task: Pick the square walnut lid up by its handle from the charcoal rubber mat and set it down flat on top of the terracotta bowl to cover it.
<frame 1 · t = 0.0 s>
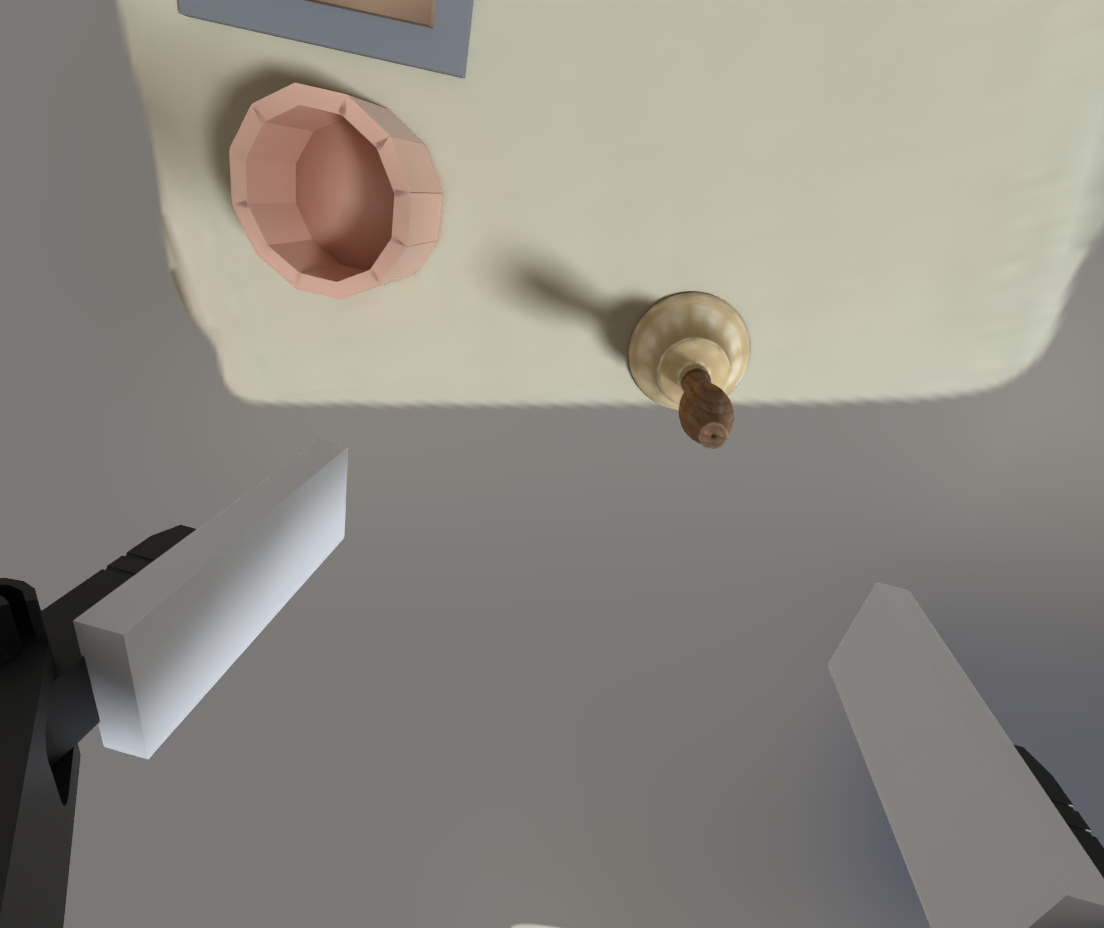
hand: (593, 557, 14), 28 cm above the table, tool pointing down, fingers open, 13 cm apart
terracotta bowl: (365, 198, 38), on the table
hand bell: (687, 352, 39), on the table
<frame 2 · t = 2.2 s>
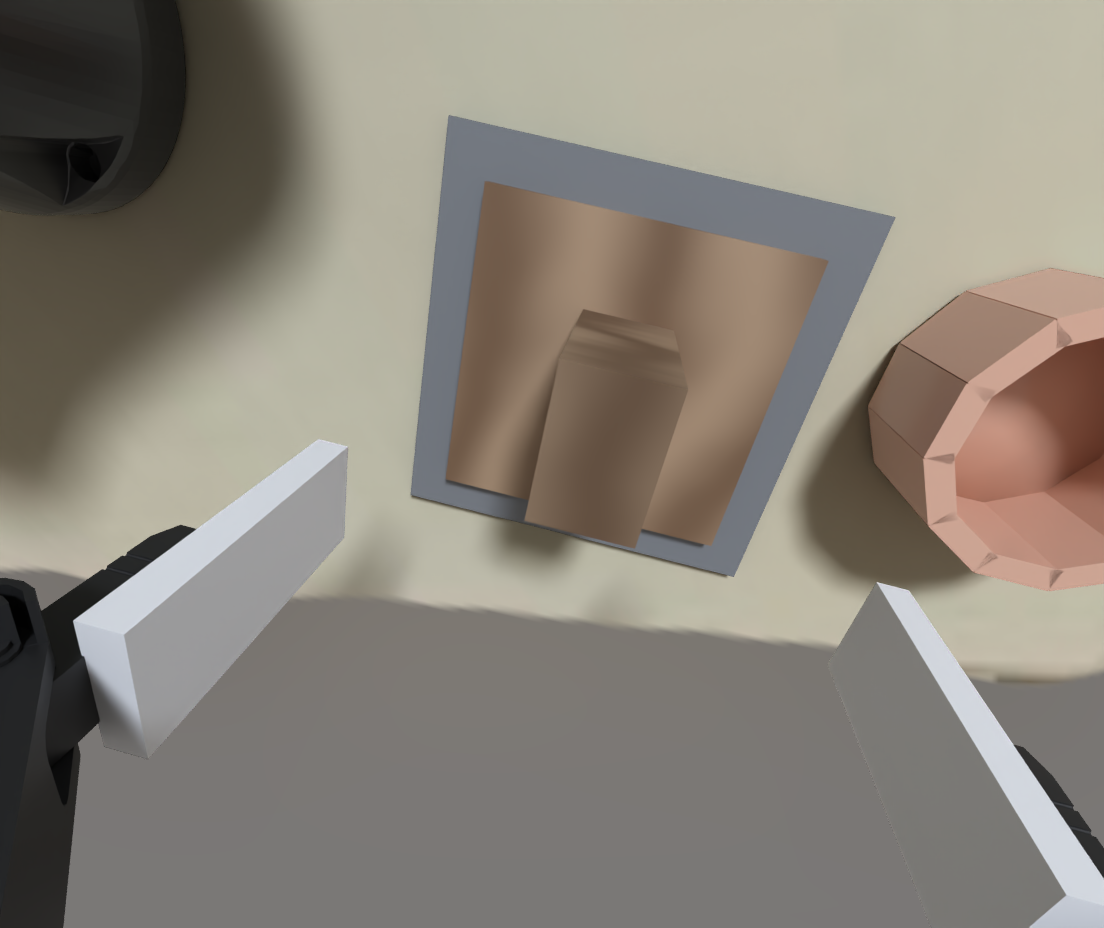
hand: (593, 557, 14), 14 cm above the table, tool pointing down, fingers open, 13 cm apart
terracotta bowl: (1002, 402, 25), on the table
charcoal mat: (612, 375, 27), on the table
walnut lid: (611, 379, 26), point 1 cm above the table, touching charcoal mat
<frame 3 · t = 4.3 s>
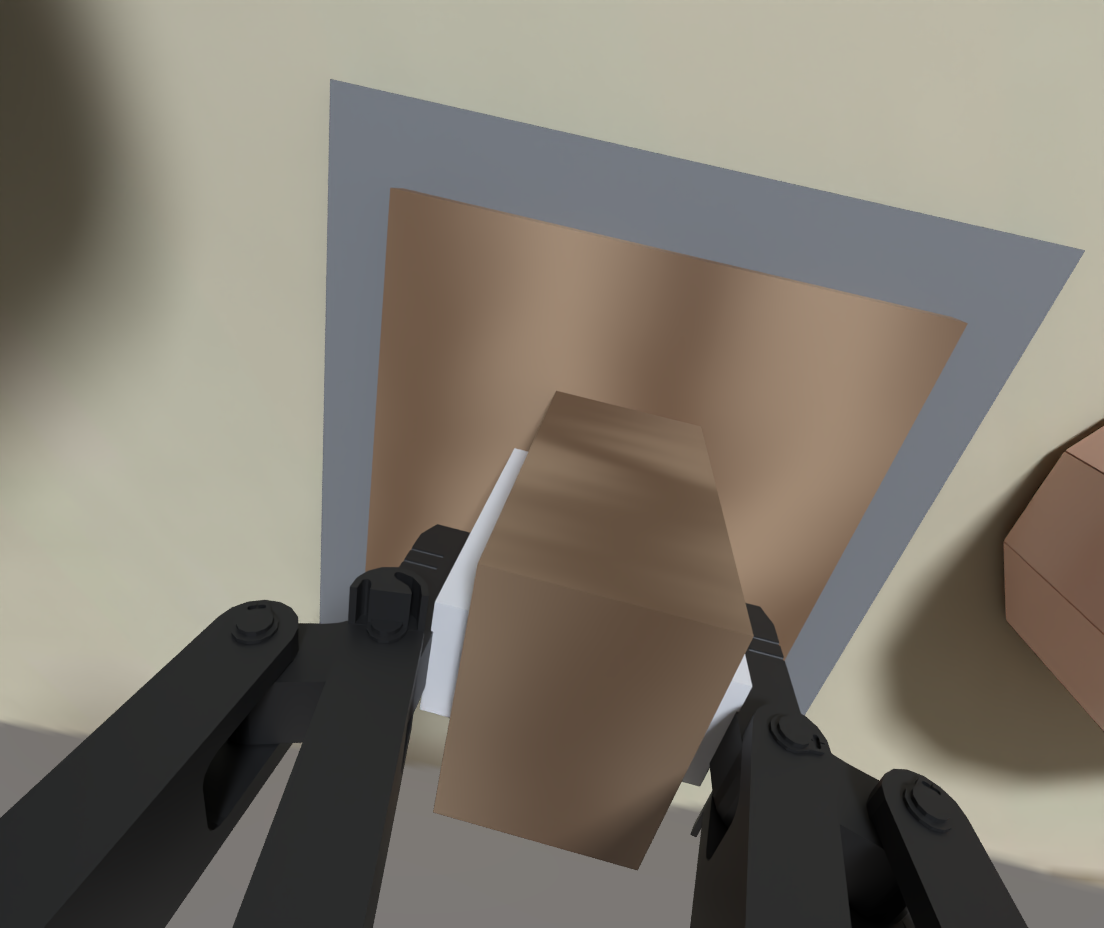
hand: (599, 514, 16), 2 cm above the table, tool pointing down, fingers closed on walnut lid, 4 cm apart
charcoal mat: (604, 480, 18), on the table
walnut lid: (603, 489, 17), point 1 cm above the table, touching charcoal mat, gripper
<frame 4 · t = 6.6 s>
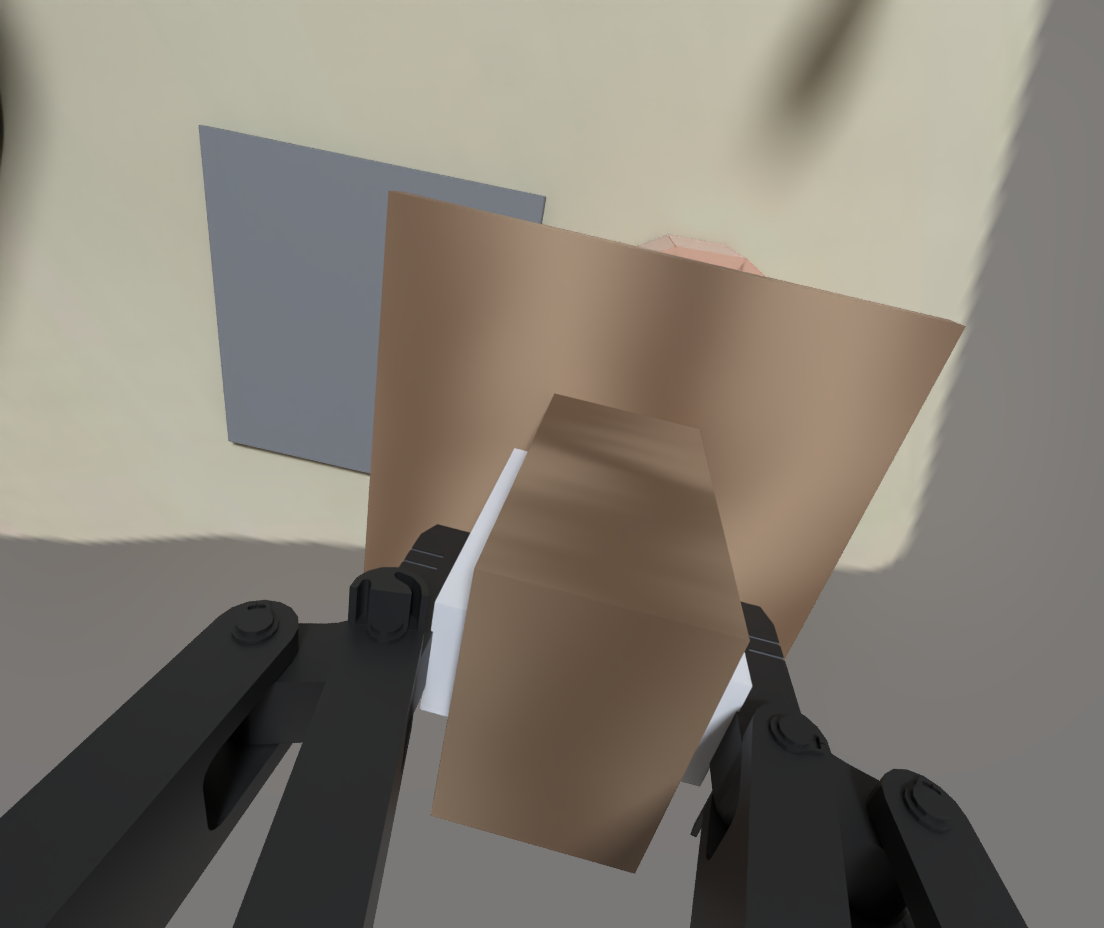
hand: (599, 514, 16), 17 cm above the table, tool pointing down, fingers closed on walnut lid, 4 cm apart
terracotta bowl: (669, 345, 31), on the table
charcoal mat: (369, 333, 33), on the table
walnut lid: (601, 491, 17), point 16 cm above the table, touching gripper
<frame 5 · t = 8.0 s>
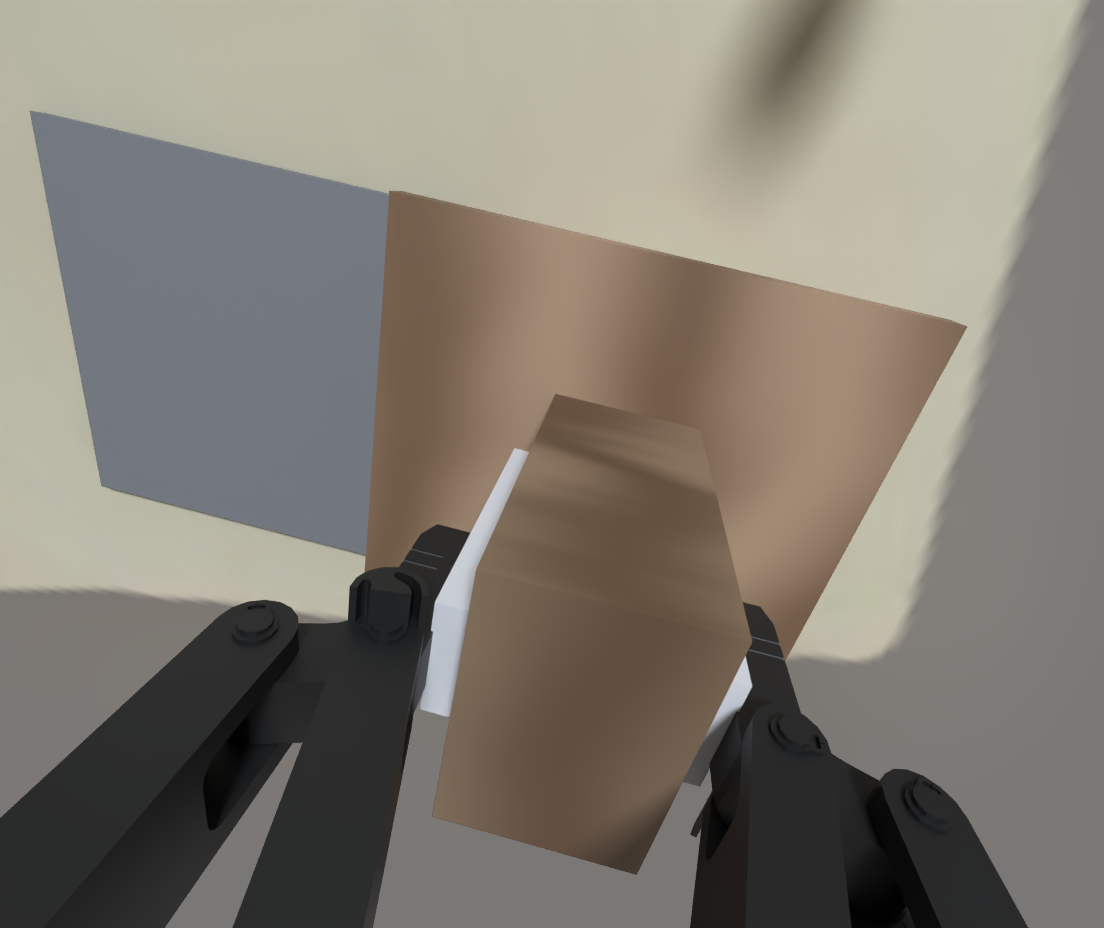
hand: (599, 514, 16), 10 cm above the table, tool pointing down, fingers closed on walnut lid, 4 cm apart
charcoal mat: (256, 367, 27), on the table
walnut lid: (602, 492, 17), point 9 cm above the table, touching gripper
when the fingers open (9 cm above the table, at t = 8.9 s): walnut lid drops 2 cm, resting on terracotta bowl.
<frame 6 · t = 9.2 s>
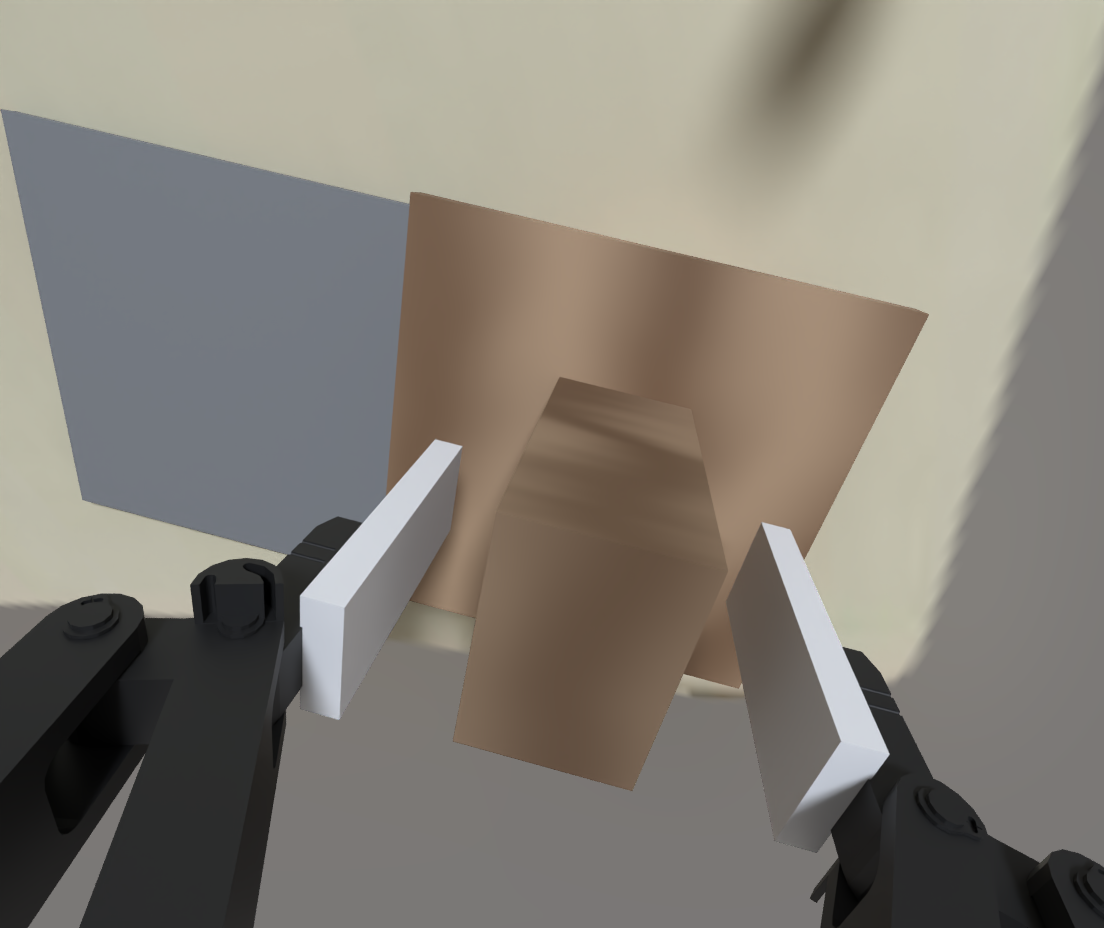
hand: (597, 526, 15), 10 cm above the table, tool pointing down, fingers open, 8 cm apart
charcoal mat: (241, 378, 26), on the table
walnut lid: (602, 469, 19), point 6 cm above the table, touching terracotta bowl
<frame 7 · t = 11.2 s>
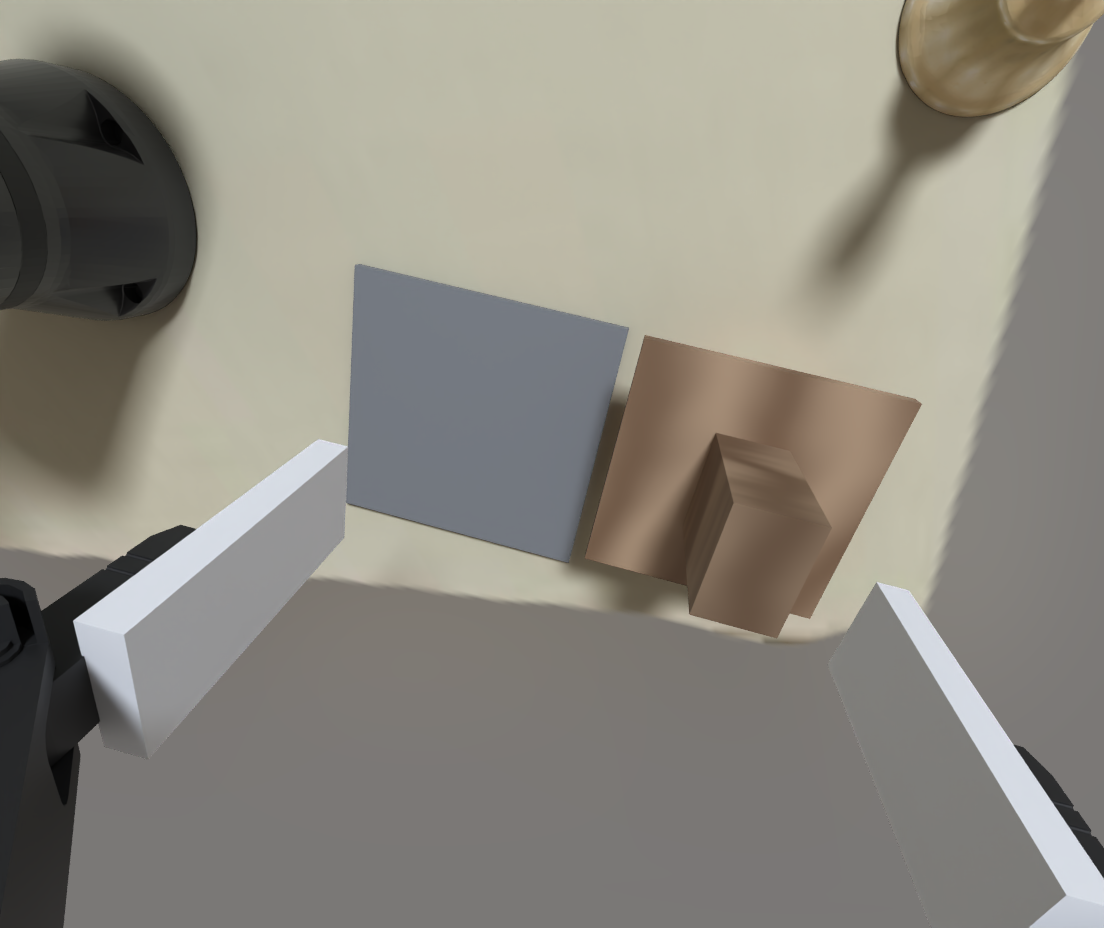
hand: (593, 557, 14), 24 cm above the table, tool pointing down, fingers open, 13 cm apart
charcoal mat: (473, 423, 40), on the table
walnut lid: (732, 483, 32), point 6 cm above the table
hand bell: (993, 15, 26), on the table
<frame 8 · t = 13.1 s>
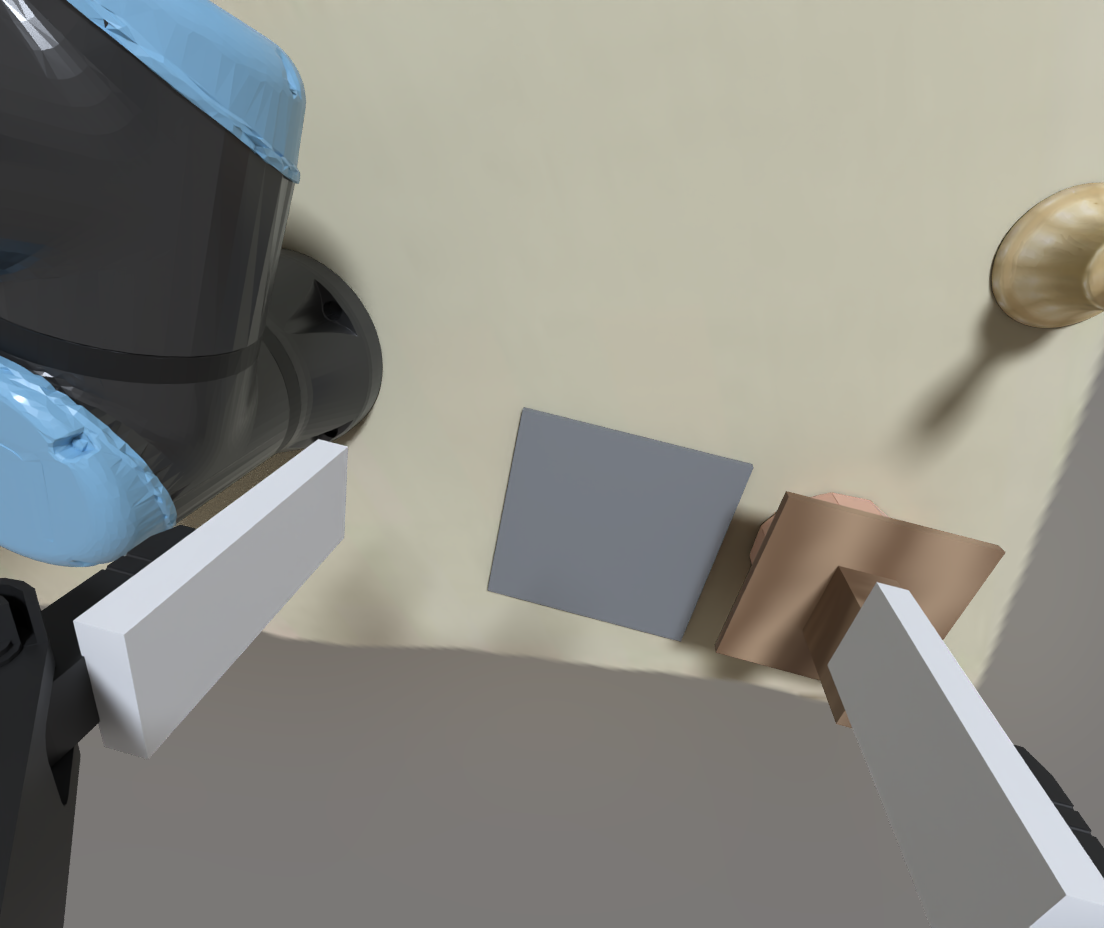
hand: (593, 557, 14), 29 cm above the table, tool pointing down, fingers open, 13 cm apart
terracotta bowl: (822, 552, 45), on the table, touching walnut lid
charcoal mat: (608, 531, 47), on the table
walnut lid: (844, 599, 40), point 6 cm above the table, touching terracotta bowl
hand bell: (1066, 258, 34), on the table
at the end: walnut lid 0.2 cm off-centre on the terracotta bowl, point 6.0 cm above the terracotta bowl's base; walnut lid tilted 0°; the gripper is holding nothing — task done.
